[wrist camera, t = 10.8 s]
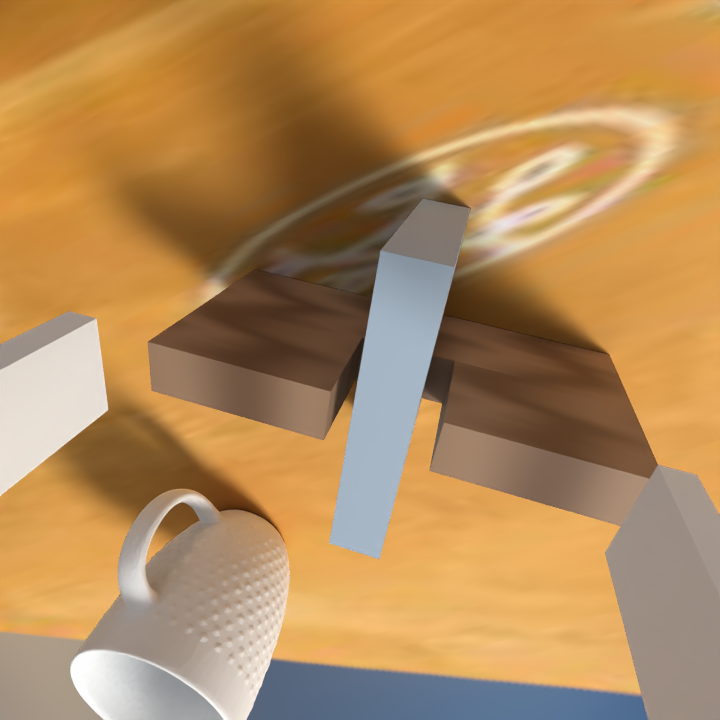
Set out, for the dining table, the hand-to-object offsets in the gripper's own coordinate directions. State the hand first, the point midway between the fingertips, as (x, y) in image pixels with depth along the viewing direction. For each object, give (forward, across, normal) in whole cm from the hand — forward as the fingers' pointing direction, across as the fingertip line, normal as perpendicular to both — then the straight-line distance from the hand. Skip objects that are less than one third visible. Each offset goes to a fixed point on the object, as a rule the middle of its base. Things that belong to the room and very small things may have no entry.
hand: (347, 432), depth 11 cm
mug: (+17, -10, -25) cm, 32 cm away
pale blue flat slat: (+16, 0, -4) cm, 17 cm away
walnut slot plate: (+16, 0, -4) cm, 17 cm away
